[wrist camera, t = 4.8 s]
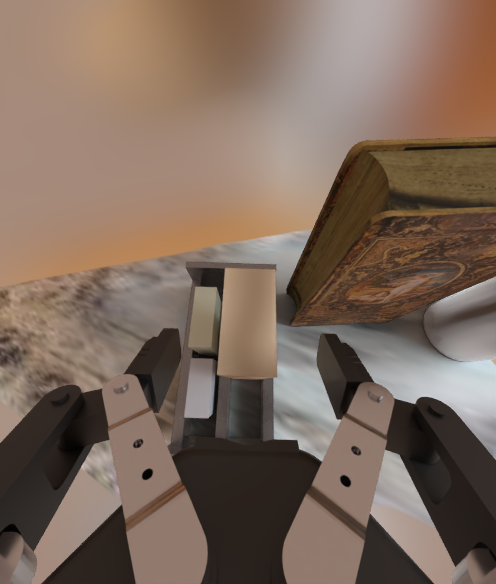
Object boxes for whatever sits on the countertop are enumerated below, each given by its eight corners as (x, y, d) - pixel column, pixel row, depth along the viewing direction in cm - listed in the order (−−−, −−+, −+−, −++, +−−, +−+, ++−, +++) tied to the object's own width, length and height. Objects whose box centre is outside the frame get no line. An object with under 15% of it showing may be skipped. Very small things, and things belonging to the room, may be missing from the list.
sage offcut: (223, 309, 36) (216, 287, 27) (220, 356, 33) (211, 347, 25) (207, 308, 36) (195, 286, 27) (202, 355, 33) (188, 346, 25)
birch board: (257, 336, 34) (275, 269, 14) (257, 379, 32) (276, 377, 12) (237, 335, 34) (225, 267, 14) (235, 378, 32) (217, 375, 12)
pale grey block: (219, 363, 33) (212, 358, 26) (215, 410, 31) (207, 418, 24) (201, 362, 33) (190, 358, 26) (197, 409, 31) (184, 417, 24)
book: (385, 288, 37) (619, 132, 14) (395, 321, 35) (686, 205, 12) (284, 293, 37) (350, 140, 13) (288, 327, 35) (373, 217, 12)
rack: (270, 288, 37) (276, 264, 30) (270, 446, 29) (278, 468, 22) (198, 285, 37) (186, 261, 30) (179, 442, 29) (156, 463, 22)
